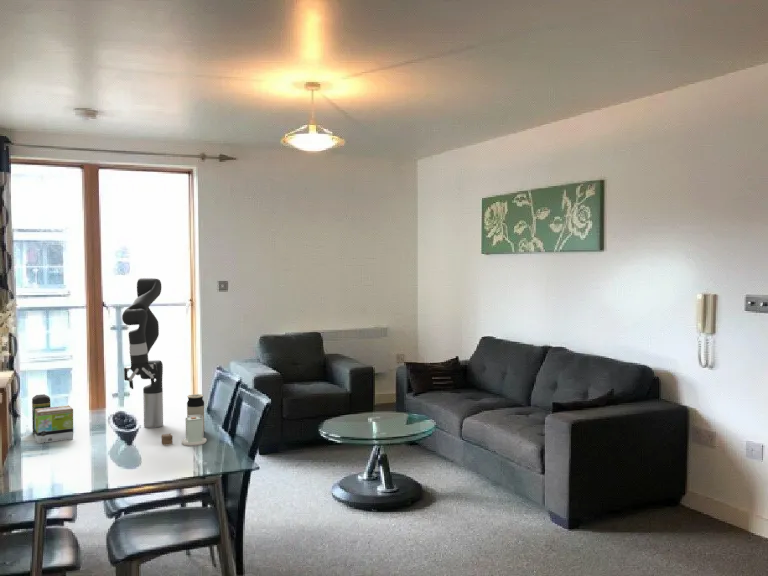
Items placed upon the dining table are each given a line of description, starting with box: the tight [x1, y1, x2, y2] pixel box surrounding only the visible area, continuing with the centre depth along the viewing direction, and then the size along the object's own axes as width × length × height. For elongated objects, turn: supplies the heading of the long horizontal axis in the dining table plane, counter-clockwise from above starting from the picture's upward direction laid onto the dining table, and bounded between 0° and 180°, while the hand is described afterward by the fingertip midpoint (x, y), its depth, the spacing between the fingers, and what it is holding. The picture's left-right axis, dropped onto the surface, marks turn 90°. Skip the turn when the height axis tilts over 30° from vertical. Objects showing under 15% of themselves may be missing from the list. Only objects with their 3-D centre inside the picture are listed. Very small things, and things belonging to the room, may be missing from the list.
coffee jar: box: [31, 394, 52, 435], centre depth 319 cm, size 10×8×19 cm
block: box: [161, 433, 173, 446], centre depth 297 cm, size 4×4×4 cm
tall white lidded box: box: [188, 414, 205, 438], centre depth 309 cm, size 6×6×10 cm
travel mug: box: [186, 393, 206, 432], centre depth 317 cm, size 8×8×18 cm
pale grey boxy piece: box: [185, 416, 202, 443], centre depth 298 cm, size 6×6×10 cm
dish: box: [180, 437, 207, 447], centre depth 298 cm, size 11×11×1 cm
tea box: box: [34, 404, 74, 444], centre depth 306 cm, size 15×10×15 cm, turn 126°
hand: (142, 387), depth 299 cm, fingers open, 8 cm apart
